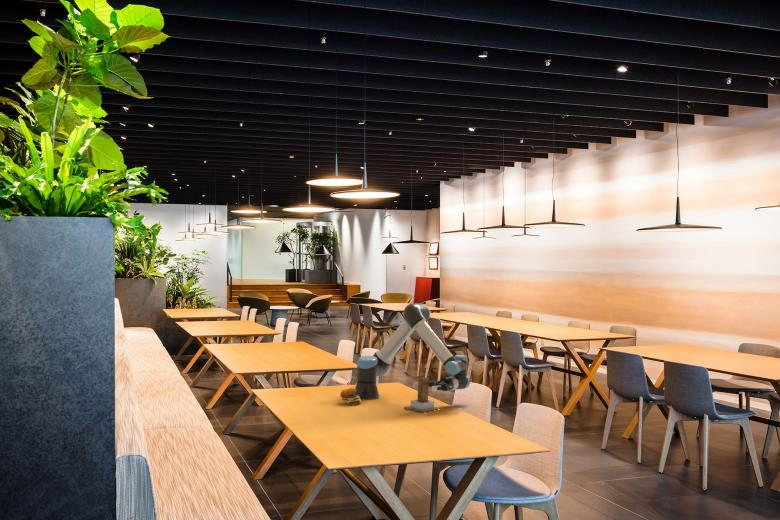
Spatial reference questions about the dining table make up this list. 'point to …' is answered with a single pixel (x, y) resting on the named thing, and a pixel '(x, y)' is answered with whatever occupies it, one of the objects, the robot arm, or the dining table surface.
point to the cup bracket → (421, 406)
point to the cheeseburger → (350, 397)
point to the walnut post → (423, 389)
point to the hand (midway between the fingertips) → (423, 387)
